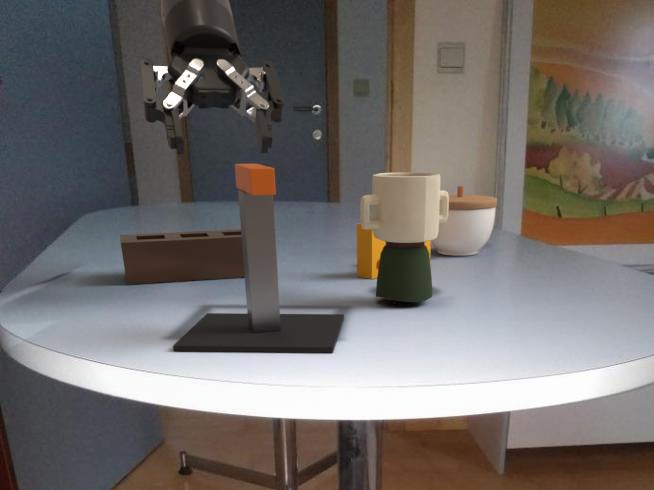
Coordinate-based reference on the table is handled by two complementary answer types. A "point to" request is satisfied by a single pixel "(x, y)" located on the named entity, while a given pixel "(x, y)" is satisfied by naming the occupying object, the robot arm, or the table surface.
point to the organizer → (182, 256)
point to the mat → (263, 334)
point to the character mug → (404, 231)
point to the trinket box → (466, 224)
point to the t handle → (259, 245)
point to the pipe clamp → (371, 252)
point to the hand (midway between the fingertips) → (223, 147)
